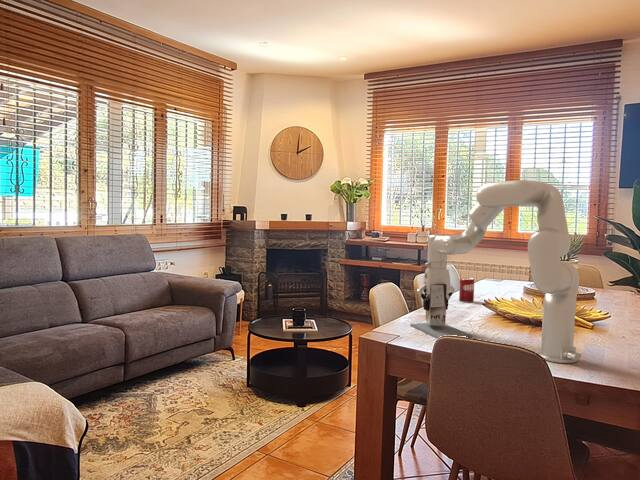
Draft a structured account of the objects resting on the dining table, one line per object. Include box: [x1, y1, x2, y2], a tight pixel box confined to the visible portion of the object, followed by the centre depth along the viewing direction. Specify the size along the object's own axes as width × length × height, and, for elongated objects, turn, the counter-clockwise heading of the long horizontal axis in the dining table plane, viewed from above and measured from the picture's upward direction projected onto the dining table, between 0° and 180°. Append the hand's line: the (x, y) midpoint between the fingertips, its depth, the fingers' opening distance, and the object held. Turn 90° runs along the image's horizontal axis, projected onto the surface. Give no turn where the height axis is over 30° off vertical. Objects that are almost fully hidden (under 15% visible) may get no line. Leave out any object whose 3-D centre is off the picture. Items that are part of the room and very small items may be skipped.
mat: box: [410, 322, 473, 339], centre depth 196 cm, size 22×14×1 cm, turn 18°
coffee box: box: [425, 284, 447, 326], centre depth 199 cm, size 9×6×16 cm
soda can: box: [458, 277, 475, 304], centre depth 258 cm, size 7×7×12 cm
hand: (435, 309), depth 199 cm, fingers closed on coffee box, 7 cm apart
